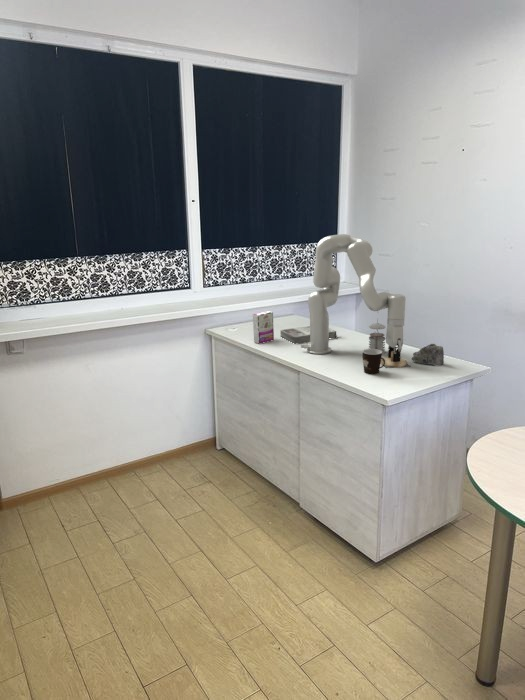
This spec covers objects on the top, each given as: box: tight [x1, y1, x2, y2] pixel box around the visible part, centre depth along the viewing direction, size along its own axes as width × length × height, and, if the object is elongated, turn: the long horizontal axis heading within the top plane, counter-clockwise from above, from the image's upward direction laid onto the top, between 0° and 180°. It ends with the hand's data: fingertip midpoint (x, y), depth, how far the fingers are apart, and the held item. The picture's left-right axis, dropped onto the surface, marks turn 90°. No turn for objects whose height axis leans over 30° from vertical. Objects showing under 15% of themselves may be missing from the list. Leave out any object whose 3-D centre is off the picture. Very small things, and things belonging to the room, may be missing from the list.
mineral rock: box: [411, 343, 445, 367], centre depth 233 cm, size 13×11×10 cm
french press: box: [368, 319, 386, 355], centre depth 249 cm, size 10×12×25 cm
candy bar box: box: [252, 310, 275, 344], centre depth 279 cm, size 11×5×16 cm, turn 131°
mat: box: [380, 363, 412, 369], centre depth 235 cm, size 12×12×1 cm
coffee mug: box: [361, 348, 385, 375], centre depth 221 cm, size 12×9×10 cm
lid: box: [380, 351, 408, 368], centre depth 234 cm, size 12×12×6 cm
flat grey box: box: [280, 325, 338, 345], centre depth 287 cm, size 18×27×4 cm
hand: (394, 359), depth 234 cm, fingers open, 5 cm apart
